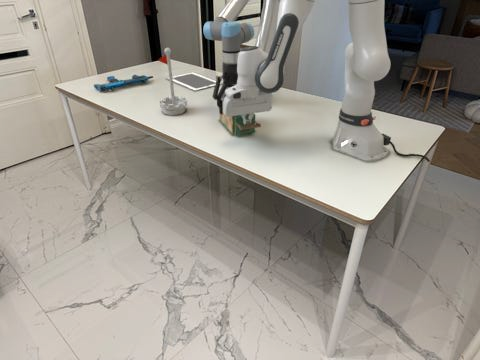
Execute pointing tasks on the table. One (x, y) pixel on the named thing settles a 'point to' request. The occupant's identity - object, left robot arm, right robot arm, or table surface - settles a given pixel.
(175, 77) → the tablet
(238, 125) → the drawer
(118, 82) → the submachine gun
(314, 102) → the table surface
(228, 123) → the tan storage bin
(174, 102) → the flag stand
